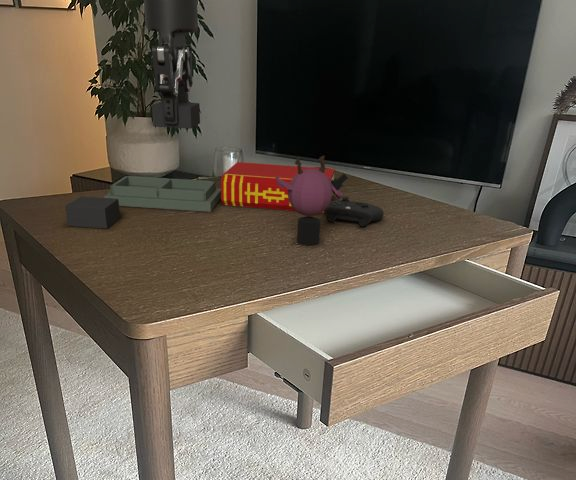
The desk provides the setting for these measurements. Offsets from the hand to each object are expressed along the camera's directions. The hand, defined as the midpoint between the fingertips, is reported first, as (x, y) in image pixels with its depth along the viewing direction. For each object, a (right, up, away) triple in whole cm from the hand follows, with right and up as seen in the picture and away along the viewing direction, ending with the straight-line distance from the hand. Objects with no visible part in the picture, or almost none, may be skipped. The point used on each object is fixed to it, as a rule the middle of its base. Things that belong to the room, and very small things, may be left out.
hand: (176, 120), depth 94 cm
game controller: (+28, -15, +5) cm, 32 cm away
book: (+16, -9, +14) cm, 23 cm away
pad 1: (-12, -16, -2) cm, 21 cm away
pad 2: (0, -1, 0) cm, 1 cm away
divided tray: (-4, -9, +11) cm, 15 cm away
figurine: (+20, -21, -6) cm, 30 cm away
